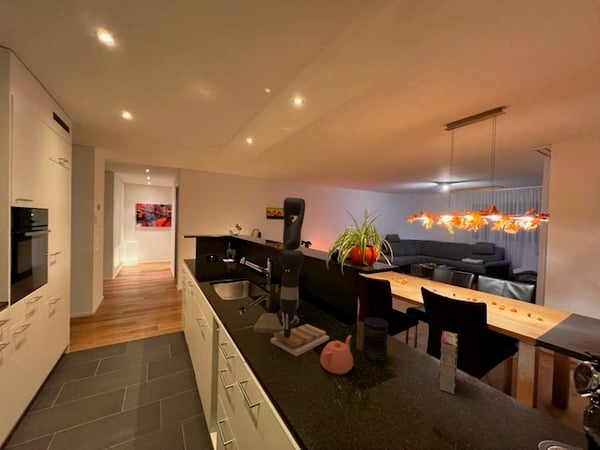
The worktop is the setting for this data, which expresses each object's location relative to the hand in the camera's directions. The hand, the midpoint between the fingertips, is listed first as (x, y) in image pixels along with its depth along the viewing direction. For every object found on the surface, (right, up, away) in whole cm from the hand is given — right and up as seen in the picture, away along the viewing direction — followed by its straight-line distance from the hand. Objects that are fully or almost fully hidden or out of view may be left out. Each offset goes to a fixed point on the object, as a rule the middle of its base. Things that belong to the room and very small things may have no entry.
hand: (286, 336), depth 110 cm
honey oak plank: (+3, -2, +4) cm, 6 cm away
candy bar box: (+57, -8, -20) cm, 61 cm away
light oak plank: (+11, -3, +12) cm, 17 cm away
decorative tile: (-7, -5, +23) cm, 24 cm away
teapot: (+20, -6, -12) cm, 24 cm away
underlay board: (+6, -5, +7) cm, 10 cm away
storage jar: (+36, -7, -5) cm, 37 cm away
